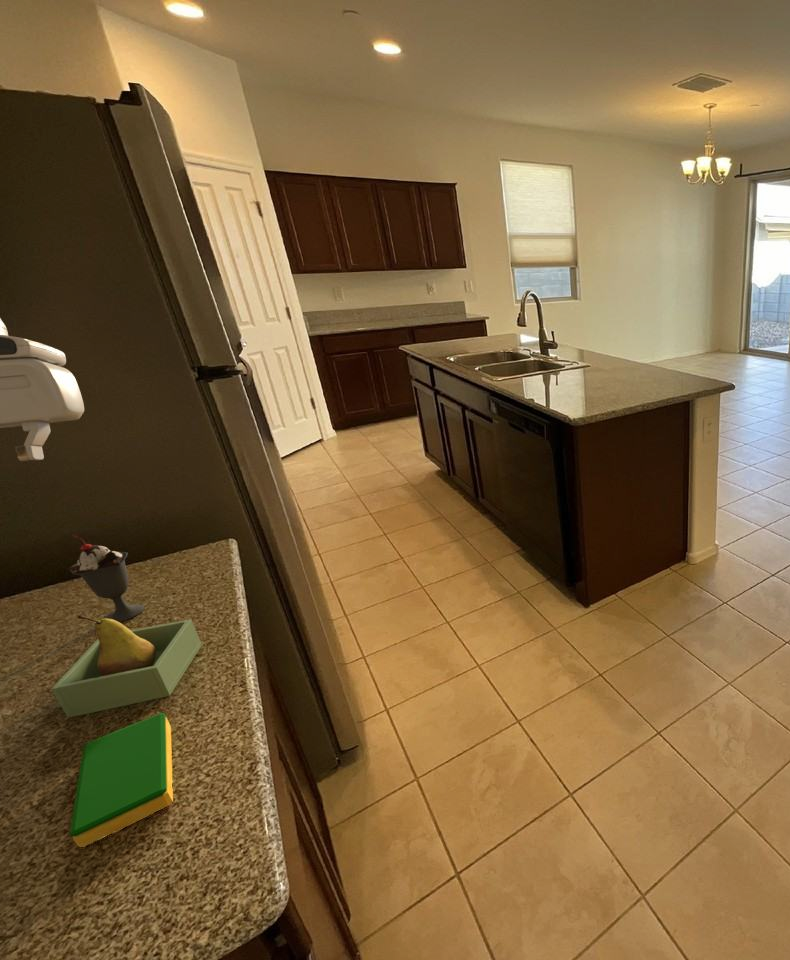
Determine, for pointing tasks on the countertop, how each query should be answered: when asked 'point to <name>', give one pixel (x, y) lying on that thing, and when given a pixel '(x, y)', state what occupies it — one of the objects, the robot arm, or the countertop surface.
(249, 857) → the countertop surface
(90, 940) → the countertop surface
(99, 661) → the fruit
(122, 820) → the dish sponge
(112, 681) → the bin
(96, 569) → the sundae
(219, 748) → the countertop surface
